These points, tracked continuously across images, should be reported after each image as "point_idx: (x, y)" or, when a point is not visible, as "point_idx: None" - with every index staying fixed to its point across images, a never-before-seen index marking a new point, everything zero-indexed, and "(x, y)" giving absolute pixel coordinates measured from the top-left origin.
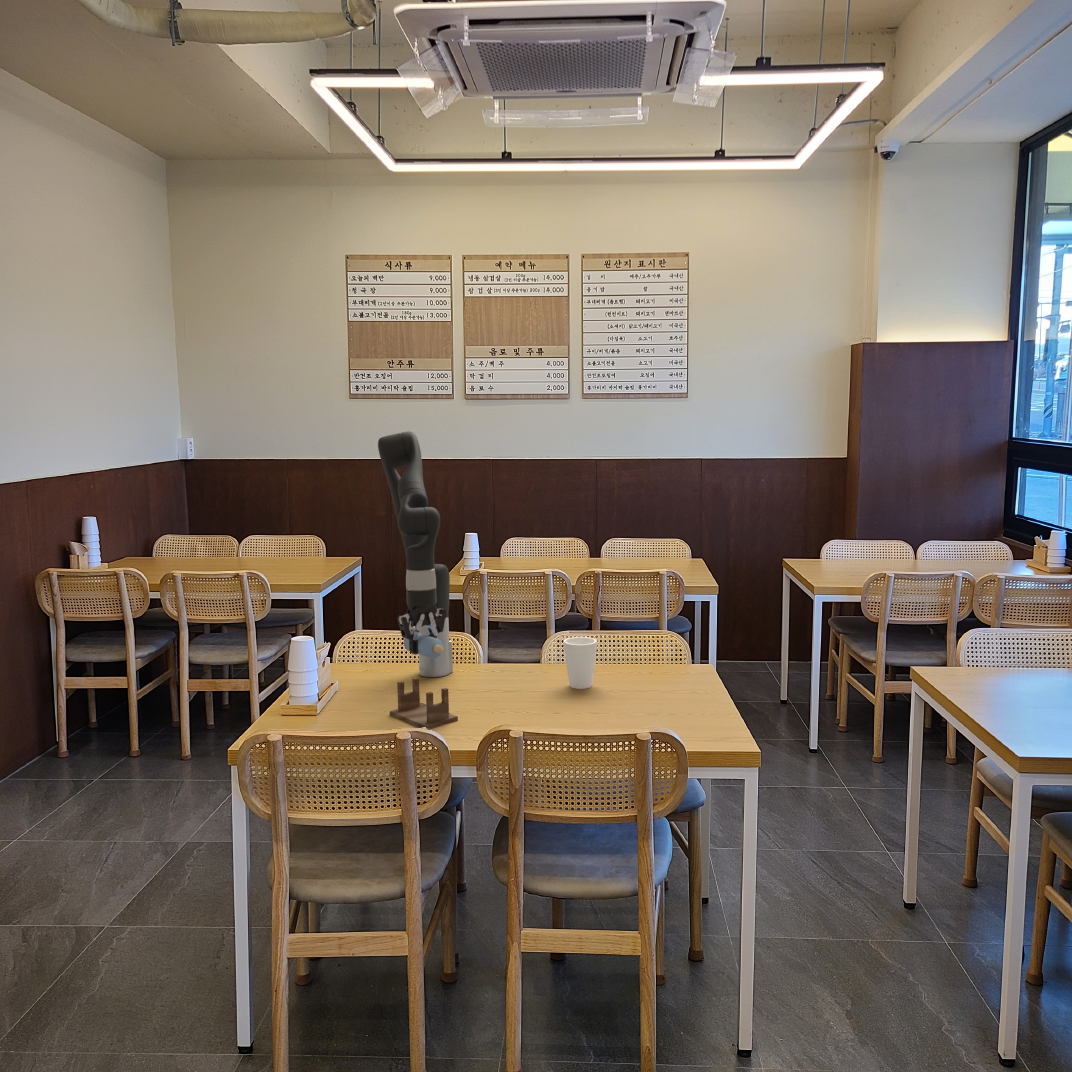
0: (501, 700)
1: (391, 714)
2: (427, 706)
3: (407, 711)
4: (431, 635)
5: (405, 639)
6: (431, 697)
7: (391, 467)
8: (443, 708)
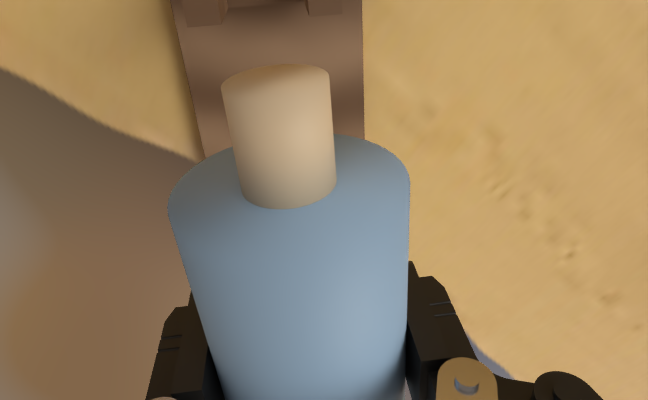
0: (633, 106)
1: None
2: None
3: (234, 21)
4: (428, 397)
5: (177, 242)
6: None
7: None
8: None
